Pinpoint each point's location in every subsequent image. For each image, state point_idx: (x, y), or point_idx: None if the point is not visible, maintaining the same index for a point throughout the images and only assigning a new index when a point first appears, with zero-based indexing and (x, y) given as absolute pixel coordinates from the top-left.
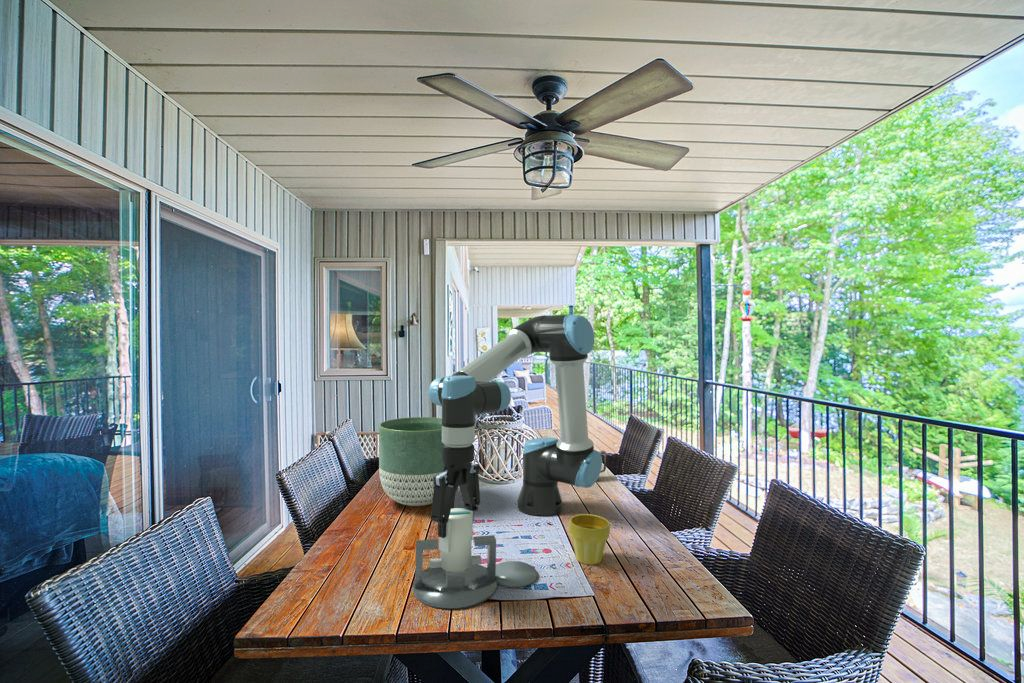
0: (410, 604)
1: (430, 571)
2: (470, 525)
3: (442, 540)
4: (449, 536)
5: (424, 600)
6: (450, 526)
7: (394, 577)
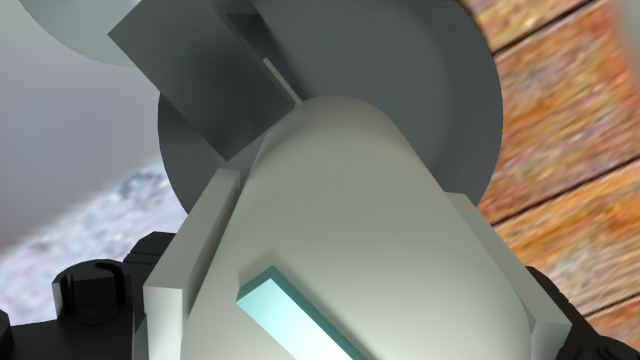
0: (505, 204)
1: None
2: (333, 174)
3: None
4: (492, 244)
5: (492, 171)
6: (519, 292)
7: None
